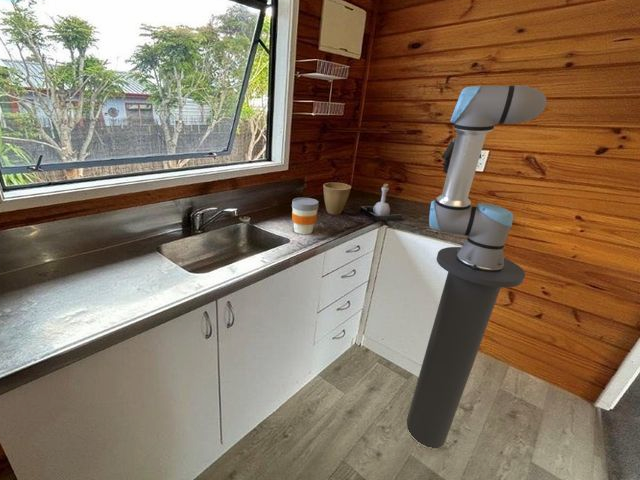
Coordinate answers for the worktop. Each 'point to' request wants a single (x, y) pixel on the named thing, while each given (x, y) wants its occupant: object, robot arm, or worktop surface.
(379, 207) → the potion bottle
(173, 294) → the worktop surface
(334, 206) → the plant pot
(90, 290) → the worktop surface
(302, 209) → the reusable coffee cup
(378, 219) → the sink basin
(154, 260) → the worktop surface
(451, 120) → the robot arm
